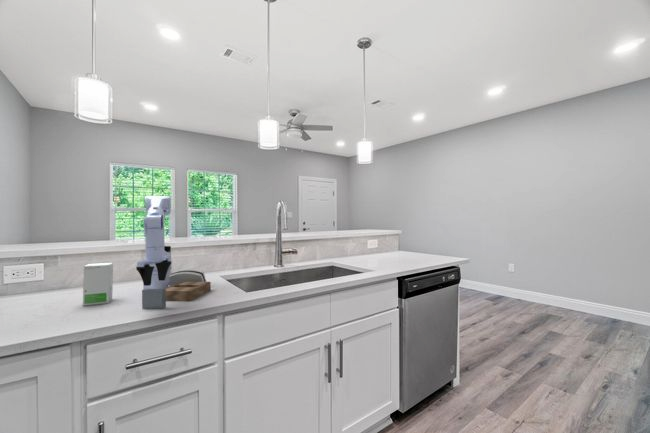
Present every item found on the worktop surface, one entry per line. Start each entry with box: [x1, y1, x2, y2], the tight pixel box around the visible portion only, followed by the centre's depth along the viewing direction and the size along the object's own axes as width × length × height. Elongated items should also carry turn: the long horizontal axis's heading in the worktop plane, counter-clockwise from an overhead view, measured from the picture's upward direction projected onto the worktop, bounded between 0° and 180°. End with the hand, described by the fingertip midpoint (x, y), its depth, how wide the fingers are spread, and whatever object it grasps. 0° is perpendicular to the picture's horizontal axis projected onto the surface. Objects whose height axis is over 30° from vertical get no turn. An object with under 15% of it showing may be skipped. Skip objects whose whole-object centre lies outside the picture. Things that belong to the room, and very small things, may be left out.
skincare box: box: [82, 262, 114, 307], centre depth 109 cm, size 8×7×16 cm
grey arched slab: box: [169, 269, 207, 286], centre depth 131 cm, size 17×5×10 cm, turn 95°
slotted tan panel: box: [164, 281, 212, 302], centre depth 118 cm, size 14×16×4 cm
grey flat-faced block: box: [141, 289, 167, 310], centre depth 102 cm, size 8×2×7 cm, turn 85°
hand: (154, 282), depth 102 cm, fingers open, 7 cm apart
